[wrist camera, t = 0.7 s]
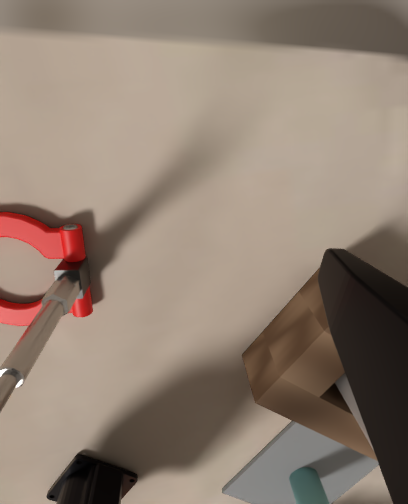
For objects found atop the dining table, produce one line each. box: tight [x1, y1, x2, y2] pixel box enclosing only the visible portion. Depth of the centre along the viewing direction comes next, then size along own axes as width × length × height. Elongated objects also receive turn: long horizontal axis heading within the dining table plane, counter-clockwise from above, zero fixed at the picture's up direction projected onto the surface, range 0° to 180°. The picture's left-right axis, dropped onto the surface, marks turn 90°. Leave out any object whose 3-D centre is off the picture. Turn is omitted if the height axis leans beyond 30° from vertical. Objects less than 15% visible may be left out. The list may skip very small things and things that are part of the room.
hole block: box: [242, 268, 377, 461], centre depth 29 cm, size 10×24×5 cm, turn 55°
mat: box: [222, 421, 379, 504], centre depth 36 cm, size 12×12×1 cm
